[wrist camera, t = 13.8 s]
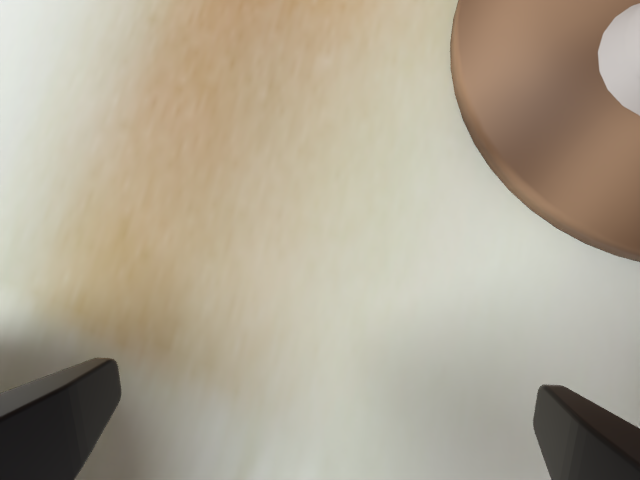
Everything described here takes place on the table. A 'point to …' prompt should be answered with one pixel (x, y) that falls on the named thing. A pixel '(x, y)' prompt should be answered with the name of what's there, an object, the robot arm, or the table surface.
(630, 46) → the chalice
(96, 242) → the table surface
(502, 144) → the serving board
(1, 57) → the table surface
